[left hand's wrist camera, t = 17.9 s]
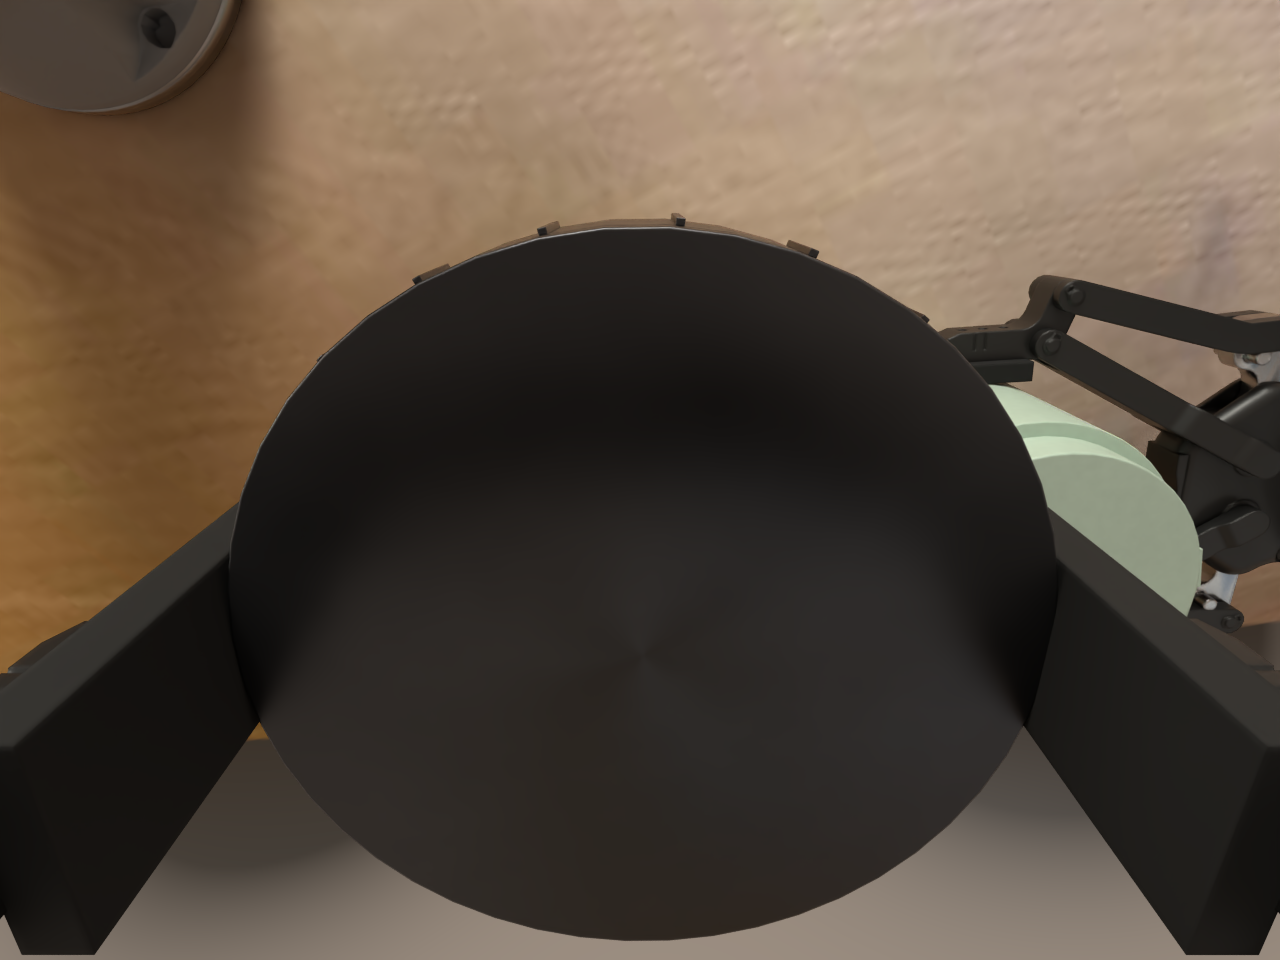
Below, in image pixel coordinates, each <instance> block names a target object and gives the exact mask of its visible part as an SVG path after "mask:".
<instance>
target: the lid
mask: <svg viewBox="0 0 1280 960" xmlns="http://www.w3.org/2000/svg"><path fill="white" fill-rule="evenodd" d="M685 220H686V219H685V218H684V217H683V216H681V215H680V214H677V213H672V214H671V220H670V219H615V220H604V221H598V222H591V223H585V224H578V225H572V226H565V227H560V226H559V222H558V221H556V222H552V223H549V224H547V225H545V226H542V227H540V228H538V229H537V231H538V234H534V235H531V236H528V237H524V238H521V239H518V240H514V241H511V242H508V243H504V244H502V245H500V246H497V247H495V248H493V249H491V250H488V251H486V252H484V253H481V254H479V255H477V256H474V257H472V258H470V259H468V260H466V261H464V262H462V263H459V264H457V265H455V266H453V267H450V266H449V264H445V265H443V266H441V267H438V268H436V269H433V270H431V271H428V272H426V273H423V274H421V275H419V276H417V277H415V278H414V279H412V280H413V282H414V284H415V285H414V286H412V287H411V288H409V289H408V290H406V291H405V292H403V293H402V294H400V295H399V296H397V297H395V298H394V299H392V300H391V301H389V302H388V303H386V304H385V305H383V306H382V307H380V308H379V309H377V310H376V311H374V312H373V313H371V314H369V315H368V316H367V317H366V318H364V319H363V320H362V321H361V322H360V323H359V324H358V325H357V326H355V327H354V328H353V329H352V330H351V331H350V332H349V333H348V334H346V335H345V336H344V337H343V338H342V339H341V340H340V341H339V342H337V343H336V344H335V345H334V346H333V347H332V348H331V349H330V350H329V351H327V352H326V353H324V354H322V355H321V356H320V357H319V358H318V359H317V363H316V365H315V366H314V367H313V368H312V370H311V371H310V372H309V373H308V374H307V376H306V377H305V378H304V379H303V380H302V382H301V383H300V384H299V385H298V386H297V388H296V389H295V390H294V391H293V393H292V394H291V395H290V396H289V397H288V399H287V400H286V402H285V404H284V405H283V407H282V409H281V411H280V412H279V414H278V416H277V417H276V419H275V421H274V422H273V424H272V426H271V428H270V429H269V431H268V433H267V434H266V436H265V438H264V439H263V441H262V443H261V444H260V447H259V449H258V452H257V454H256V457H255V460H254V462H253V465H252V467H251V470H250V472H249V475H248V477H247V480H246V482H245V485H244V488H243V490H242V493H241V497H240V501H239V506H238V511H237V515H236V520H235V524H234V529H233V533H232V538H231V543H230V561H229V578H228V598H229V609H230V619H231V629H232V638H233V642H234V646H235V650H236V654H237V658H238V662H239V666H240V670H241V674H242V678H243V682H244V685H245V687H246V689H247V692H248V694H249V697H250V699H251V702H252V704H253V706H254V709H255V711H256V714H257V716H258V719H259V721H260V723H261V725H262V727H263V729H264V731H265V732H266V734H267V736H268V737H269V739H270V741H271V743H272V744H273V746H274V748H275V749H276V751H277V753H278V755H279V756H280V758H281V760H282V762H283V763H284V764H285V766H286V767H287V768H288V770H289V771H290V772H291V774H292V775H293V776H294V777H295V779H296V780H297V781H298V783H299V784H300V785H301V787H302V788H303V789H304V791H305V792H306V793H307V794H308V796H309V797H310V798H311V799H312V800H313V801H314V802H315V803H316V804H317V806H319V808H320V809H321V810H322V811H323V812H324V813H325V814H326V815H327V816H328V817H329V818H330V819H331V820H332V821H333V822H334V823H335V824H336V825H337V826H338V827H339V828H340V829H341V830H342V831H343V832H345V833H346V834H347V835H348V836H350V837H351V838H352V839H353V840H355V841H356V842H357V843H358V844H359V845H361V846H362V847H363V848H364V849H366V850H367V851H368V852H369V853H371V854H372V855H373V856H374V857H376V858H377V859H379V860H380V861H382V862H383V863H385V864H386V865H388V866H389V867H391V868H393V869H394V870H396V871H397V872H399V873H400V874H402V875H403V876H405V877H407V878H408V879H410V880H411V881H413V882H415V883H417V884H419V885H421V886H423V887H425V888H427V889H429V890H431V891H433V892H435V893H436V894H438V895H440V896H443V897H444V898H446V899H448V900H450V901H452V902H455V903H457V904H460V905H463V906H465V907H468V908H470V909H473V910H476V911H478V912H481V913H484V914H486V915H489V916H491V917H494V918H497V919H501V920H505V921H508V922H512V923H516V924H519V925H523V926H526V927H530V928H534V929H537V930H543V931H549V932H554V933H560V934H565V935H571V936H577V937H585V938H597V939H609V940H621V941H661V940H678V939H688V938H698V937H708V936H715V935H720V934H726V933H731V932H736V931H740V930H746V929H751V928H756V927H760V926H763V925H766V924H770V923H773V922H776V921H780V920H783V919H786V918H790V917H793V916H797V915H800V914H802V913H805V912H807V911H810V910H812V909H815V908H817V907H820V906H822V905H824V904H827V903H829V902H832V901H834V900H837V899H839V898H841V897H843V896H845V895H847V894H849V893H851V892H853V891H855V890H856V889H858V888H860V887H862V886H864V885H866V884H868V883H870V882H872V881H874V880H875V879H877V878H879V877H881V876H882V875H884V874H885V873H887V872H888V871H890V870H891V869H893V868H894V867H896V866H897V865H899V864H900V863H901V862H903V861H905V860H906V859H908V858H909V857H910V856H912V855H913V854H915V853H916V852H918V851H919V850H920V849H921V848H922V847H923V846H925V845H926V844H927V843H928V842H929V841H931V840H932V839H933V838H934V837H935V836H937V835H938V834H939V833H940V832H941V831H943V830H944V829H945V828H946V827H947V826H948V825H950V824H951V823H952V822H953V820H954V819H955V818H956V817H957V816H958V815H959V814H960V813H961V812H962V811H963V810H964V809H965V808H966V807H967V806H968V805H969V803H970V802H971V801H972V800H973V799H974V798H975V797H976V796H977V795H978V794H979V793H980V792H981V790H982V789H983V788H984V786H985V785H986V783H987V782H988V781H989V779H990V778H991V777H992V775H993V774H994V773H995V771H996V770H997V768H998V767H999V766H1000V764H1001V763H1002V762H1003V760H1004V759H1005V758H1006V756H1007V755H1008V753H1009V751H1010V749H1011V747H1012V745H1013V744H1014V742H1015V740H1016V738H1017V736H1018V735H1019V733H1020V731H1021V729H1022V727H1023V726H1024V724H1025V722H1026V720H1027V718H1028V716H1029V714H1030V711H1031V709H1032V706H1033V703H1034V701H1035V697H1036V694H1037V690H1038V687H1039V683H1040V678H1041V674H1042V670H1043V666H1044V662H1045V657H1046V653H1047V649H1048V645H1049V641H1050V636H1051V632H1052V628H1053V624H1054V619H1055V614H1056V607H1057V593H1058V572H1057V560H1056V548H1055V537H1054V530H1053V526H1052V522H1051V518H1050V514H1049V510H1048V506H1047V502H1046V498H1045V494H1044V490H1043V486H1042V482H1041V480H1040V478H1039V475H1038V473H1037V471H1036V468H1035V466H1034V464H1033V461H1032V459H1031V457H1030V454H1029V452H1028V450H1027V447H1026V445H1025V443H1024V440H1023V438H1022V436H1021V434H1020V432H1019V431H1018V429H1017V428H1016V426H1015V424H1014V423H1013V421H1012V420H1011V418H1010V416H1009V415H1008V413H1007V412H1006V410H1005V409H1004V407H1003V405H1002V404H1001V402H1000V401H999V399H998V397H997V396H996V394H995V393H994V391H993V389H992V388H991V387H990V386H989V385H988V384H987V383H986V381H985V380H984V379H983V378H982V377H981V376H980V375H979V373H978V372H977V371H976V370H975V369H974V368H973V367H972V365H971V364H970V363H969V362H968V361H967V360H966V359H965V357H964V356H963V355H962V354H961V353H960V352H959V351H958V349H957V348H956V347H955V346H954V345H952V344H951V343H950V342H949V341H948V340H946V339H945V338H944V337H943V336H942V335H941V334H939V333H938V332H937V331H936V330H935V329H933V328H932V327H931V326H930V325H929V324H927V323H928V321H929V319H928V318H927V317H926V316H925V315H923V314H921V313H919V312H917V311H915V310H912V309H910V308H908V307H906V306H905V305H903V304H901V303H900V302H898V301H897V300H895V299H893V298H892V297H890V296H888V295H887V294H885V293H883V292H882V291H880V290H879V289H877V288H875V287H874V286H872V285H870V284H869V283H867V282H866V281H864V280H862V279H861V278H859V277H857V276H855V275H853V274H850V273H848V272H846V271H843V270H841V269H839V268H836V267H834V266H832V265H830V264H827V263H825V262H823V261H820V260H818V259H816V258H817V256H818V254H819V251H818V250H815V249H813V248H810V247H807V246H805V245H802V244H799V243H796V242H794V241H791V240H788V243H787V245H786V246H785V245H783V244H780V243H778V242H775V241H773V240H770V239H767V238H763V237H759V236H756V235H752V234H748V233H744V232H741V231H737V230H733V229H730V228H726V227H722V226H718V225H710V224H702V223H694V222H686V221H685Z"/></svg>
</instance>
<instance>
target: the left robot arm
mask: <svg viewBox="0 0 1280 960" xmlns="http://www.w3.org/2000/svg"><path fill="white" fill-rule="evenodd" d="M241 1H242V0H0V91H1V92H4V93H6V94H9V95H11V96H14V97H17V98H19V99H22V100H25V101H27V102H30V103H34V104H37V105H41V106H44V107H49V108H54V109H59V110H65V111H71V112H77V113H82V114H92V115H120V114H127V113H134V112H138V111H141V110H145V109H149V108H152V107H154V106H157V105H159V104H162V103H164V102H166V101H168V100H170V99H171V98H173V97H175V96H177V95H179V94H180V93H181V92H183V91H184V90H185V89H187V88H188V87H190V86H191V85H192V84H193V83H194V82H195V81H196V80H197V79H198V78H200V77H201V76H202V75H203V74H204V73H205V71H206V70H207V69H208V68H209V67H210V65H211V64H212V63H213V62H214V60H215V59H216V57H217V56H218V54H219V53H220V51H221V50H222V48H223V47H224V45H225V43H226V41H227V39H228V37H229V35H230V33H231V31H232V29H233V26H234V23H235V21H236V18H237V15H238V12H239V9H240V5H241ZM238 506H239V502H238V503H237V504H236V505H234V506H233V507H232V508H231V509H229V510H228V511H227V512H225V513H224V514H223V515H222V516H220V517H219V518H218V519H217V520H215V521H214V522H213V523H212V524H210V525H209V526H208V527H207V528H205V529H204V530H203V531H201V532H200V533H199V534H198V535H196V536H195V537H194V538H193V539H191V540H190V541H189V542H188V543H186V544H185V545H184V546H183V547H181V548H180V549H179V550H177V551H176V552H175V553H174V554H172V555H171V556H170V557H169V558H167V559H166V560H165V561H164V562H162V563H161V564H160V565H159V566H157V567H156V568H155V569H153V570H152V571H151V572H150V573H148V574H147V575H146V576H145V577H143V578H142V579H141V580H140V581H138V582H137V583H136V584H135V585H133V586H132V587H131V588H129V589H128V590H127V591H126V592H124V593H123V594H122V595H121V596H119V597H118V598H117V599H116V600H114V601H113V602H112V603H111V604H109V605H108V606H107V607H105V608H104V609H103V610H102V611H100V612H99V613H98V614H97V615H95V616H94V617H93V618H92V619H90V620H89V621H84V622H82V623H80V624H78V625H76V626H74V627H72V628H70V629H68V630H66V631H64V632H62V633H60V634H58V635H56V636H54V637H52V638H50V639H48V640H46V641H44V642H42V643H40V644H39V645H38V646H37V647H35V648H34V649H33V650H31V651H30V652H29V653H27V654H26V655H25V656H23V657H22V658H21V659H20V660H18V661H17V662H16V663H14V664H13V665H12V666H10V667H9V668H8V673H1V674H0V919H1V917H2V916H3V915H5V918H6V920H7V922H8V925H9V927H10V929H11V931H12V934H13V936H14V938H15V940H16V943H17V945H18V947H19V949H20V952H21V954H22V955H95V953H96V952H97V950H98V949H99V948H100V946H101V945H102V943H103V942H104V941H105V939H106V938H107V936H108V935H109V933H110V932H111V931H112V929H113V928H114V926H115V925H116V924H117V922H118V921H119V919H120V918H121V917H122V915H123V914H124V912H125V911H126V909H127V908H128V907H129V905H130V904H131V902H132V901H133V900H134V898H135V897H136V895H137V894H138V893H139V891H140V890H141V888H142V887H143V885H144V884H145V883H146V881H147V880H148V878H149V877H150V876H151V874H152V873H153V871H154V870H155V869H156V867H157V866H158V864H159V863H160V861H161V860H162V859H163V857H164V856H165V854H166V853H167V852H168V850H169V849H170V847H171V846H172V844H173V843H174V842H175V840H176V839H177V837H178V836H179V835H180V833H181V832H182V830H183V829H184V828H185V826H186V825H187V823H188V822H189V820H190V819H191V818H192V816H193V815H194V813H195V812H196V811H197V809H198V808H199V806H200V805H201V804H202V802H203V801H204V799H205V798H206V796H207V795H208V794H209V792H210V791H211V789H212V788H213V787H214V785H215V784H216V782H217V781H218V779H219V778H220V777H221V775H222V774H223V772H224V771H225V770H226V768H227V767H228V765H229V764H230V762H231V761H232V760H233V758H234V757H235V755H236V754H237V753H238V751H239V750H240V748H241V747H242V746H243V744H244V743H245V741H246V740H247V739H248V737H249V736H250V734H251V733H252V732H253V730H254V729H255V727H256V726H257V724H258V723H259V722H260V721H259V719H258V716H257V714H256V711H255V709H254V706H253V704H252V702H251V699H250V697H249V694H248V692H247V689H246V687H245V685H244V682H243V678H242V674H241V670H240V666H239V662H238V658H237V654H236V650H235V646H234V642H233V638H232V629H231V619H230V609H229V598H228V578H229V561H230V543H231V538H232V533H233V529H234V524H235V520H236V515H237V511H238ZM1048 510H1049V514H1050V518H1051V522H1052V526H1053V530H1054V537H1055V548H1056V560H1057V572H1058V593H1057V607H1056V614H1055V619H1054V624H1053V628H1052V632H1051V636H1050V641H1049V645H1048V649H1047V653H1046V657H1045V662H1044V666H1043V670H1042V674H1041V678H1040V683H1039V687H1038V690H1037V694H1036V697H1035V701H1034V703H1033V706H1032V709H1031V711H1030V714H1029V716H1028V718H1027V720H1026V722H1025V724H1024V727H1025V728H1026V729H1027V731H1028V732H1029V734H1030V735H1031V736H1032V738H1033V739H1034V741H1035V742H1036V744H1037V745H1038V746H1039V748H1040V749H1041V750H1042V752H1043V753H1044V755H1045V756H1046V758H1047V759H1048V760H1049V762H1050V763H1051V765H1052V766H1053V768H1054V769H1055V770H1056V772H1057V773H1058V775H1059V776H1060V777H1061V779H1062V780H1063V782H1064V783H1065V784H1066V786H1067V787H1068V789H1069V790H1070V792H1071V793H1072V794H1073V796H1074V797H1075V799H1076V800H1077V801H1078V803H1079V804H1080V806H1081V807H1082V808H1083V810H1084V811H1085V813H1086V814H1087V816H1088V817H1089V818H1090V820H1091V821H1092V823H1093V824H1094V825H1095V827H1096V828H1097V830H1098V831H1099V833H1100V834H1101V835H1102V837H1103V838H1104V840H1105V841H1106V842H1107V844H1108V845H1109V846H1110V848H1111V849H1112V851H1113V852H1114V854H1115V855H1116V856H1117V858H1118V859H1119V861H1120V862H1121V864H1122V865H1123V866H1124V868H1125V869H1126V871H1127V872H1128V873H1129V875H1130V876H1131V878H1132V879H1133V880H1134V882H1135V883H1136V885H1137V886H1138V888H1139V889H1140V890H1141V892H1142V893H1143V895H1144V896H1145V897H1146V899H1147V900H1148V902H1149V903H1150V905H1151V906H1152V907H1153V909H1154V910H1155V912H1156V913H1157V914H1158V916H1159V917H1160V919H1161V920H1162V921H1163V923H1164V924H1165V926H1166V927H1167V929H1168V930H1169V931H1170V933H1171V934H1172V936H1173V937H1174V938H1175V940H1176V941H1177V943H1178V944H1179V945H1180V947H1181V948H1182V950H1183V951H1184V953H1185V954H1186V955H1259V953H1260V951H1261V949H1262V947H1263V944H1264V942H1265V940H1266V938H1267V935H1268V933H1269V931H1270V928H1271V926H1272V924H1273V922H1274V919H1275V917H1276V915H1277V913H1278V912H1279V914H1280V671H1275V670H1274V668H1273V667H1274V666H1273V665H1272V664H1271V663H1270V662H1268V661H1267V660H1266V659H1264V658H1263V657H1262V656H1260V655H1259V654H1258V653H1256V652H1255V651H1254V650H1252V649H1251V648H1250V647H1249V646H1247V645H1246V644H1245V643H1243V642H1242V641H1241V640H1239V639H1237V638H1235V637H1233V636H1231V635H1229V634H1227V633H1225V632H1223V631H1221V630H1219V629H1217V628H1215V627H1213V626H1211V625H1209V624H1207V623H1205V622H1203V621H1200V620H1198V619H1189V618H1188V617H1186V616H1185V615H1184V614H1183V613H1181V612H1180V611H1179V610H1178V609H1176V608H1175V607H1174V606H1173V605H1171V604H1170V603H1169V602H1167V601H1166V600H1165V599H1164V598H1162V597H1161V596H1160V595H1159V594H1157V593H1156V592H1155V591H1154V590H1152V589H1151V588H1150V587H1149V586H1147V585H1146V584H1145V583H1143V582H1142V581H1141V580H1140V579H1138V578H1137V577H1136V576H1135V575H1133V574H1132V573H1131V572H1130V571H1128V570H1127V569H1126V568H1125V567H1123V566H1122V565H1121V564H1119V563H1118V562H1117V561H1116V560H1114V559H1113V558H1112V557H1111V556H1109V555H1108V554H1107V553H1106V552H1104V551H1103V550H1102V549H1101V548H1099V547H1098V546H1097V545H1095V544H1094V543H1093V542H1092V541H1090V540H1089V539H1088V538H1087V537H1085V536H1084V535H1083V534H1082V533H1080V532H1079V531H1078V530H1077V529H1075V528H1074V527H1073V526H1071V525H1070V524H1069V523H1068V522H1066V521H1065V520H1064V519H1063V518H1061V517H1060V516H1059V515H1058V514H1056V513H1055V512H1054V511H1053V510H1051V509H1050V508H1049V507H1048Z"/></svg>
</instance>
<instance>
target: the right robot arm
mask: <svg viewBox="0 0 1280 960" xmlns="http://www.w3.org/2000/svg"><path fill="white" fill-rule="evenodd" d="M1029 297H1030V301H1029V304H1028V306H1027V308H1026V310H1025V312H1024V313H1023V315H1022V316H1021V317H1020V318H1019V319H1012V320H1010V321H1008V322H1006V323H1005V324H1003V325H988V326H973V327H957V328H946V329H944V330H942V331H940V332H938V333H939V334H941V335H942V336H943V337H944V338H945V339H946V340H948V341H949V342H950V343H951V344H952V345H954V346H955V347H956V348H957V349H958V351H959V352H960V353H961V354H962V355H963V356H964V357H965V359H966V360H967V361H968V362H969V363H970V364H971V365H972V367H973V368H974V369H975V370H976V371H977V372H978V373H979V375H980V376H981V377H982V378H983V379H984V380H985V381H986V383H987V384H992V383H1008V382H1024V381H1032V376H1033V367H1034V362H1033V361H1031V360H1032V359H1033V360H1035V361H1037V362H1038V363H1040V364H1042V365H1044V366H1046V367H1048V368H1049V369H1051V370H1053V371H1055V372H1057V373H1058V374H1060V375H1062V376H1064V377H1066V378H1067V379H1069V380H1071V381H1073V382H1075V383H1076V384H1078V385H1080V386H1082V387H1084V388H1085V389H1087V390H1089V391H1091V392H1093V393H1094V394H1096V395H1098V396H1100V397H1102V398H1103V399H1105V400H1107V401H1109V402H1111V403H1113V404H1114V405H1116V406H1118V407H1120V408H1122V409H1123V410H1125V411H1127V412H1129V413H1131V415H1133V416H1134V417H1136V418H1138V419H1140V420H1142V421H1143V422H1145V423H1147V424H1149V425H1151V426H1152V427H1154V428H1156V429H1158V430H1160V431H1161V432H1160V434H1159V435H1158V436H1157V438H1156V440H1155V441H1148V447H1147V453H1146V458H1147V459H1148V460H1149V461H1150V462H1151V463H1152V465H1153V466H1154V467H1155V469H1156V470H1157V471H1158V473H1159V474H1160V475H1161V477H1162V479H1163V480H1164V482H1165V483H1166V484H1167V485H1169V486H1170V487H1171V488H1172V489H1173V490H1174V491H1175V492H1176V494H1177V495H1178V496H1179V498H1180V499H1181V500H1182V502H1183V503H1184V504H1185V506H1186V508H1187V510H1188V512H1189V514H1190V516H1191V518H1192V520H1193V523H1194V526H1195V529H1196V532H1197V535H1198V541H1199V547H1200V548H1202V549H1203V555H1202V561H1203V562H1202V570H1201V586H1200V587H1197V590H1196V593H1195V596H1194V598H1193V601H1192V604H1191V607H1190V610H1189V612H1188V615H1187V617H1188V618H1189V619H1198V620H1200V621H1203V622H1205V623H1207V624H1209V625H1211V626H1213V627H1215V628H1217V629H1219V630H1221V631H1223V632H1225V633H1232V632H1234V631H1236V630H1238V629H1239V628H1240V627H1241V626H1242V624H1243V622H1244V616H1243V614H1242V613H1241V612H1240V611H1238V610H1237V609H1235V608H1234V607H1233V606H1231V605H1230V603H1231V599H1232V596H1233V592H1234V589H1235V585H1236V582H1237V578H1238V575H1239V574H1243V573H1246V572H1249V571H1251V570H1253V569H1255V568H1257V567H1260V566H1262V565H1265V564H1268V563H1272V562H1280V314H1274V313H1267V312H1261V311H1254V310H1248V311H1240V312H1231V313H1222V314H1213V313H1209V312H1205V311H1201V310H1197V309H1193V308H1189V307H1185V306H1181V305H1177V304H1174V303H1170V302H1166V301H1162V300H1158V299H1154V298H1150V297H1146V296H1142V295H1138V294H1134V293H1130V292H1126V291H1122V290H1118V289H1114V288H1110V287H1106V286H1102V285H1098V284H1094V283H1090V282H1086V281H1082V280H1076V279H1070V278H1064V277H1058V276H1051V275H1043V276H1040V277H1038V278H1037V279H1035V280H1034V281H1033V282H1032V284H1031V286H1030V288H1029ZM1075 315H1080V316H1084V317H1088V318H1092V319H1096V320H1100V321H1104V322H1108V323H1112V324H1116V325H1120V326H1124V327H1128V328H1132V329H1136V330H1140V331H1144V332H1148V333H1152V334H1156V335H1160V336H1164V337H1168V338H1172V339H1176V340H1180V341H1184V342H1189V343H1193V344H1197V345H1201V346H1205V347H1209V348H1213V349H1214V353H1215V354H1217V355H1218V358H1219V360H1220V361H1221V363H1223V364H1225V365H1228V366H1232V367H1236V368H1238V370H1239V371H1240V373H1241V378H1240V379H1238V380H1235V381H1234V382H1232V383H1230V384H1229V385H1227V386H1226V387H1224V388H1223V389H1221V390H1220V391H1218V392H1217V393H1215V394H1214V395H1212V396H1211V397H1209V398H1208V399H1206V400H1205V401H1203V402H1202V403H1200V404H1199V405H1197V406H1194V405H1191V404H1189V403H1188V402H1186V401H1184V400H1182V399H1180V398H1179V397H1177V396H1175V395H1173V394H1171V393H1170V392H1168V391H1166V390H1164V389H1163V388H1161V387H1159V386H1157V385H1155V384H1154V383H1152V382H1150V381H1148V380H1147V379H1145V378H1143V377H1141V376H1140V375H1138V374H1136V373H1134V372H1132V371H1131V370H1129V369H1127V368H1125V367H1124V366H1122V365H1120V364H1118V363H1116V362H1115V361H1113V360H1111V359H1109V358H1108V357H1106V356H1104V355H1102V354H1100V353H1099V352H1097V351H1095V350H1093V349H1092V348H1090V347H1088V346H1086V345H1085V344H1083V343H1081V342H1079V341H1077V340H1076V339H1074V338H1072V337H1070V336H1069V335H1067V334H1066V333H1067V331H1068V329H1069V327H1070V325H1071V323H1072V321H1073V319H1074V317H1075Z"/></svg>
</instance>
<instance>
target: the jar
mask: <svg viewBox="0 0 1280 960" xmlns="http://www.w3.org/2000/svg"><path fill="white" fill-rule="evenodd" d="M988 385H989V386H990V387H991V388H992V389H993V391H994V393H995V394H996V396H997V397H998V399H999V401H1000V402H1001V404H1002V405H1003V407H1004V409H1005V410H1006V412H1007V413H1008V415H1009V416H1010V418H1011V420H1012V421H1013V423H1014V424H1015V426H1016V428H1017V429H1018V431H1019V432H1020V434H1021V436H1022V438H1023V440H1024V443H1025V445H1026V447H1027V450H1028V452H1029V454H1030V457H1031V459H1032V461H1033V464H1034V466H1035V468H1036V471H1037V473H1038V475H1039V478H1040V480H1041V482H1042V486H1043V490H1044V494H1045V498H1046V502H1047V506H1048V507H1049V508H1050V509H1051V510H1053V511H1054V512H1055V513H1056V514H1058V515H1059V516H1060V517H1061V518H1063V519H1064V520H1065V521H1066V522H1068V523H1069V524H1070V525H1071V526H1073V527H1074V528H1075V529H1077V530H1078V531H1079V532H1080V533H1082V534H1083V535H1084V536H1085V537H1087V538H1088V539H1089V540H1090V541H1092V542H1093V543H1094V544H1095V545H1097V546H1098V547H1099V548H1101V549H1102V550H1103V551H1104V552H1106V553H1107V554H1108V555H1109V556H1111V557H1112V558H1113V559H1114V560H1116V561H1117V562H1118V563H1119V564H1121V565H1122V566H1123V567H1125V568H1126V569H1127V570H1128V571H1130V572H1131V573H1132V574H1133V575H1135V576H1136V577H1137V578H1138V579H1140V580H1141V581H1142V582H1143V583H1145V584H1146V585H1147V586H1149V587H1150V588H1151V589H1152V590H1154V591H1155V592H1156V593H1157V594H1159V595H1160V596H1161V597H1162V598H1164V599H1165V600H1166V601H1167V602H1169V603H1170V604H1171V605H1173V606H1174V607H1175V608H1176V609H1178V610H1179V611H1180V612H1181V613H1183V614H1184V615H1185V616H1186V617H1187V615H1188V612H1189V610H1190V607H1191V604H1192V601H1193V598H1194V596H1195V593H1196V590H1197V587H1200V586H1201V570H1202V555H1203V549H1202V548H1200V547H1199V541H1198V535H1197V532H1196V529H1195V526H1194V523H1193V520H1192V518H1191V516H1190V514H1189V512H1188V510H1187V508H1186V506H1185V504H1184V503H1183V502H1182V500H1181V499H1180V498H1179V496H1178V495H1177V494H1176V492H1175V491H1174V490H1173V489H1172V488H1171V487H1170V486H1169V485H1167V484H1166V483H1165V482H1164V480H1163V479H1162V477H1161V475H1160V474H1159V473H1158V471H1157V470H1156V469H1155V467H1154V466H1153V465H1152V463H1151V462H1150V461H1149V460H1148V459H1147V458H1146V457H1145V456H1144V455H1143V454H1142V453H1140V452H1139V451H1138V450H1137V449H1136V448H1134V447H1133V446H1131V445H1130V444H1128V443H1127V442H1125V441H1124V440H1123V439H1121V438H1119V437H1117V436H1114V435H1112V434H1110V433H1108V432H1106V431H1104V430H1102V429H1100V428H1098V427H1096V426H1094V425H1092V424H1090V423H1088V422H1086V421H1084V420H1082V419H1079V418H1077V417H1075V416H1073V415H1071V414H1069V413H1067V412H1065V411H1063V410H1061V409H1059V408H1057V407H1055V406H1053V405H1051V404H1049V403H1046V402H1044V401H1042V400H1040V399H1038V398H1036V397H1034V396H1032V395H1030V394H1028V393H1026V392H1024V391H1022V390H1020V389H1018V388H1016V387H1014V386H1011V385H1009V384H1007V383H992V384H988Z"/></svg>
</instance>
